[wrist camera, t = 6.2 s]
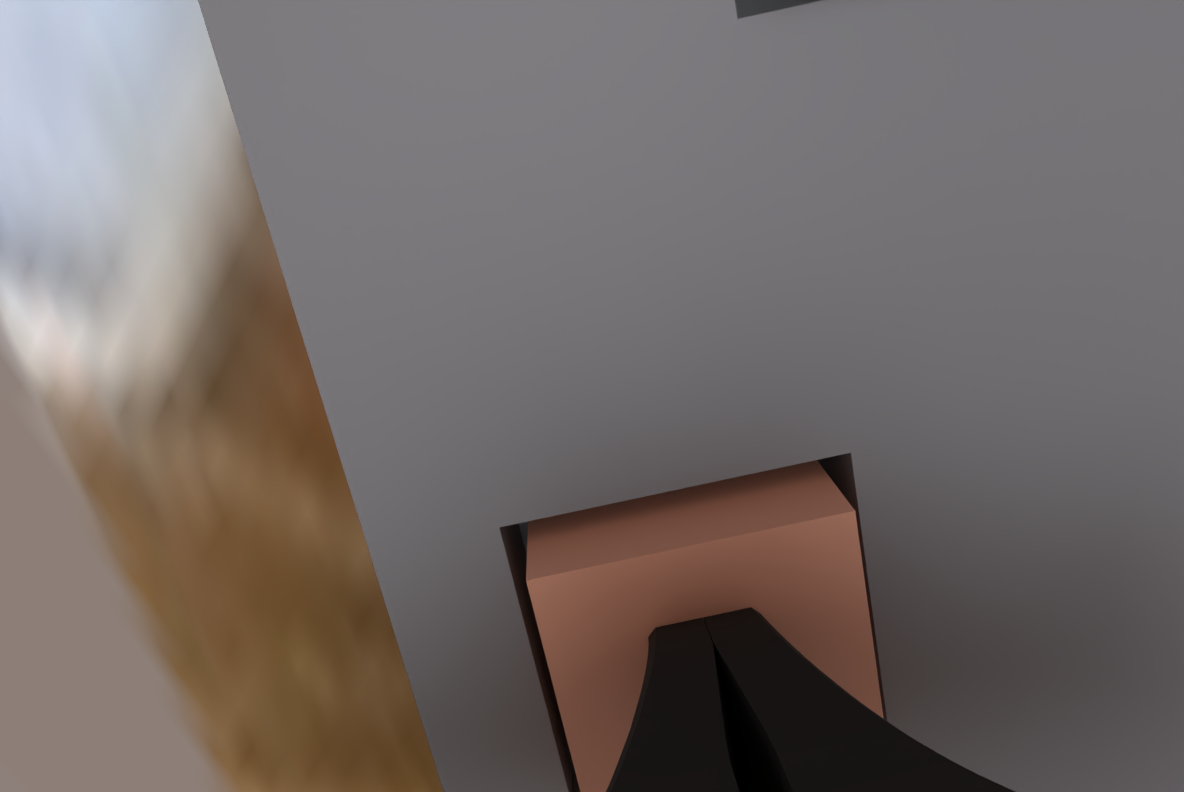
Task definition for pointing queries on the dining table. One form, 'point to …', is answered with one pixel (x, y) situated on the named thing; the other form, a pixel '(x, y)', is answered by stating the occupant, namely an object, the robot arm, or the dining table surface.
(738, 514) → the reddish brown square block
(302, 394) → the dining table surface
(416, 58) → the key panel
